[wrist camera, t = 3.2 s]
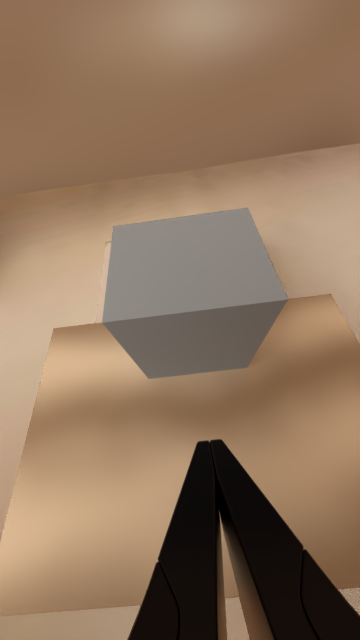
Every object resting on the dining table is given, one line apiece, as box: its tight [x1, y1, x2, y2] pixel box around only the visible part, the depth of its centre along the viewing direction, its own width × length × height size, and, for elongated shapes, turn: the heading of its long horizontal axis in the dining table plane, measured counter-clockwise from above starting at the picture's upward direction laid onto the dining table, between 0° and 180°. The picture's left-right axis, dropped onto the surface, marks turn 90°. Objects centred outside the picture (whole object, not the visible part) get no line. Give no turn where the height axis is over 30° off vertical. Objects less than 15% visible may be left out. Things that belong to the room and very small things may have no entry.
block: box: [102, 208, 288, 379], centre depth 11 cm, size 5×6×7 cm
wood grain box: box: [0, 294, 360, 616], centre depth 15 cm, size 13×20×8 cm
